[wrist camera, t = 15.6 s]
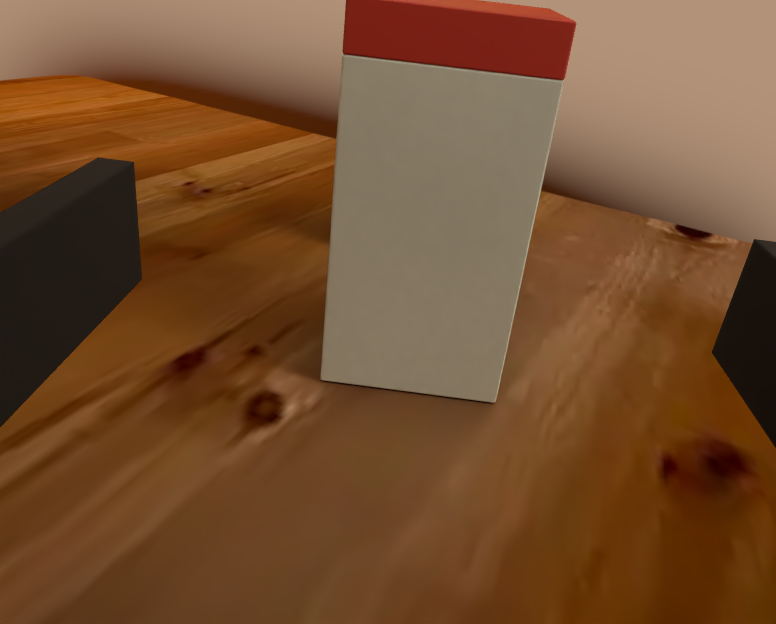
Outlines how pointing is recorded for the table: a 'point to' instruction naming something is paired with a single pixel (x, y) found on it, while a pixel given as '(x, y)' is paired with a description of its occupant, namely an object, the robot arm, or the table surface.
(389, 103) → the red-faced cream slab
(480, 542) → the table surface
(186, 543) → the table surface
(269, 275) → the table surface
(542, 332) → the table surface
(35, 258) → the robot arm
